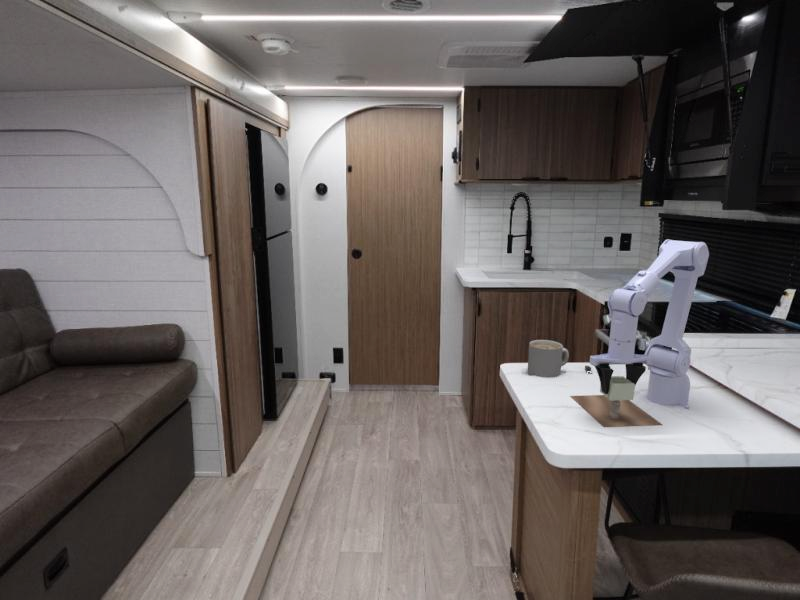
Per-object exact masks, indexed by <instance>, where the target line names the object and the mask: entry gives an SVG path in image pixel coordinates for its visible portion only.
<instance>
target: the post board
mask: <svg viewBox="0 0 800 600" xmlns="http://www.w3.org/2000/svg"><path fill="white" fill-rule="evenodd" d="M569 397H570V398H571V399H572V400H573V401H574V402H576V403H577V405H579V406H580V407H581V408H582V409H583V410H584V411H585V412H587V414H588V415H590V417H592V418H593V419H594V420H595V421H597V423H598V424H600V426H602V427H603V428H620V427H622V428H623V427H626V428H627V427H645V426H647V427H648V426H651V427H652V426H653V427H654V426H663V424H662V423H661V422H660V421H659V420H657V419H656V418H655V417H653V416H652V415H650V414H649V413H648V412H646V411H645V410H643V409H642V408H641V407H639V406H638V405H637V404H635V403H634V402H632V400H613V401H611V400H610V399H609V398H607V397H606V396H605V395H603V394H598V395H597V394H593V395H570V396H569Z"/></svg>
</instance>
